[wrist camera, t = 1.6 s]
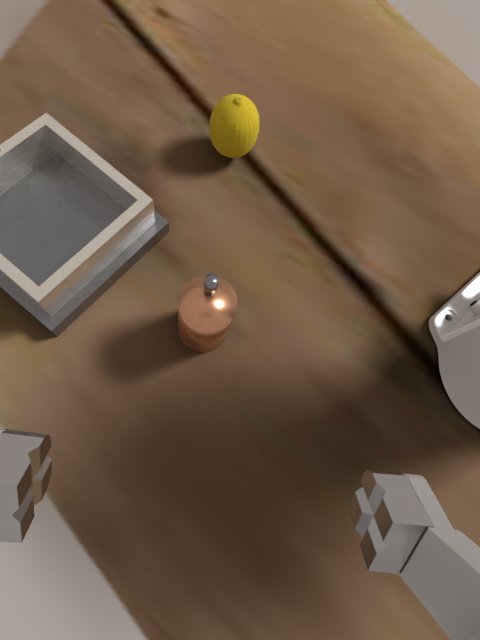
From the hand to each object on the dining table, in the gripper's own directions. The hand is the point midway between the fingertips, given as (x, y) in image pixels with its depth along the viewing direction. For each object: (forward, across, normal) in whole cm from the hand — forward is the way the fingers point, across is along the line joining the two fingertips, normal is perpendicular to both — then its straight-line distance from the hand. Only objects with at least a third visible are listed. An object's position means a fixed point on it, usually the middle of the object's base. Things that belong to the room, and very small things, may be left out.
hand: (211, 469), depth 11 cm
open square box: (+35, +16, +6) cm, 39 cm away
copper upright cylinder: (+30, 0, +12) cm, 32 cm away
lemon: (+45, 0, -4) cm, 46 cm away
